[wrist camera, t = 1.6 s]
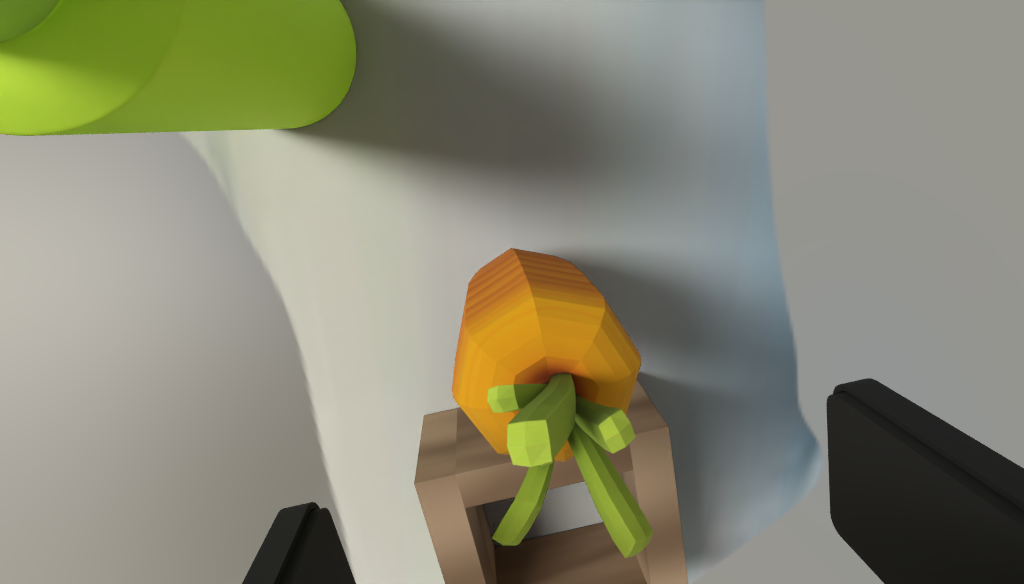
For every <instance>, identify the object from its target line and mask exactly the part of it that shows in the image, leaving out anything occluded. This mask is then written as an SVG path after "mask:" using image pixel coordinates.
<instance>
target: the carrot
mask: <svg viewBox="0 0 1024 584" xmlns="http://www.w3.org/2000/svg"><path fill="white" fill-rule="evenodd" d="M640 366H641V356H640V354H639V352H638V350H637V349H636V347H635V345H634V344H633V342H632V341H631V339H630V338H629V336H628V335H627V333H626V331H625V330H624V328H623V327H622V325H621V324H620V322H619V321H618V319H617V317H616V316H615V314H614V313H613V311H612V310H611V308H610V307H609V305H608V303H607V302H606V300H605V299H604V297H603V296H602V294H601V293H600V292H599V291H598V290H597V288H596V287H595V286H594V285H593V284H592V283H591V282H590V281H589V280H588V279H587V278H586V276H585V275H584V274H582V273H581V272H580V271H579V270H578V269H577V268H576V267H575V266H574V265H573V264H572V263H570V262H569V261H566V260H564V259H561V258H559V257H555V256H551V255H547V254H541V253H536V252H530V251H525V250H519V249H513V248H510V249H509V250H507V251H506V252H504V253H503V254H501V255H500V256H498V257H497V258H496V259H494V260H493V261H491V262H490V263H488V264H487V265H485V266H484V267H482V268H481V269H480V270H479V271H478V272H477V273H476V274H475V275H474V276H473V278H472V279H471V281H470V282H469V286H468V291H467V296H466V302H465V307H464V313H463V318H462V323H461V329H460V334H459V340H458V346H457V352H456V358H455V366H454V376H453V386H452V392H453V397H454V399H455V401H456V402H457V404H458V405H459V406H460V407H461V409H462V410H463V411H464V412H465V414H466V415H467V416H468V417H469V419H470V420H471V421H472V422H473V423H474V425H475V426H476V427H477V428H478V430H479V431H480V432H481V433H482V435H483V436H484V437H485V438H486V440H487V441H488V442H489V443H490V444H491V446H492V447H493V448H494V449H495V451H496V452H497V453H498V454H505V455H510V457H511V460H512V463H513V465H519V466H527V467H529V469H528V471H527V474H526V476H525V479H524V481H523V483H522V485H521V487H520V489H519V491H518V494H517V496H516V498H515V500H514V501H513V503H512V505H511V506H510V508H509V509H508V511H507V513H506V514H505V516H504V518H503V519H502V521H501V523H500V524H499V526H498V528H497V530H496V531H495V533H494V535H493V537H492V538H493V539H494V540H495V541H497V542H498V543H500V544H501V545H518V544H520V542H521V541H522V539H523V538H524V537H525V535H526V534H527V533H528V531H529V530H530V528H531V526H532V524H533V523H534V521H535V519H536V517H537V515H538V514H539V512H540V510H541V507H542V504H543V501H544V498H545V495H546V492H547V489H548V486H549V482H550V479H551V475H552V471H553V467H554V461H561V462H565V461H567V460H569V459H570V458H572V457H574V456H575V459H576V461H577V464H578V466H579V468H580V471H581V473H582V475H583V478H584V480H585V482H586V485H587V487H588V489H589V492H590V494H591V496H592V499H593V501H594V503H595V506H596V508H597V510H598V513H599V515H600V517H601V518H602V520H603V522H604V524H605V526H606V528H607V530H608V532H609V534H610V536H611V538H612V540H613V541H614V543H615V544H616V546H617V547H618V549H619V550H620V552H621V553H622V554H623V556H624V557H625V558H628V557H632V556H635V555H636V554H638V553H639V552H641V551H642V550H643V549H644V548H645V547H646V546H647V544H648V543H649V542H650V540H651V538H652V535H653V533H654V532H653V530H652V528H651V527H650V525H649V523H648V521H647V519H646V517H645V515H644V513H643V512H642V510H641V509H640V507H639V505H638V504H637V502H636V501H635V499H634V498H633V496H632V494H631V493H630V491H629V490H628V488H627V486H626V485H625V483H624V482H623V480H622V478H621V477H620V475H619V473H618V472H617V470H616V469H615V467H614V465H613V464H612V462H611V460H610V459H609V457H608V456H607V454H606V452H605V451H604V449H605V450H607V451H609V452H611V453H615V452H617V451H619V450H621V449H623V448H625V447H626V446H627V445H628V444H629V443H630V442H631V441H632V440H633V439H634V438H635V437H636V436H635V433H634V431H633V428H632V425H631V422H630V421H629V419H628V418H627V417H626V413H627V410H628V407H629V403H630V400H631V396H632V393H633V390H634V386H635V383H636V379H637V376H638V373H639V369H640ZM602 447H603V448H604V449H603V448H602Z"/></svg>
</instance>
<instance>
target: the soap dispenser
mask: <svg viewBox="0 0 1024 584" xmlns="http://www.w3.org/2000/svg"><path fill="white" fill-rule="evenodd" d="M356 56H357V53H356V41H355V35H354V31H353V28H352V24H351V22H350V19H349V17H348V14H347V12H346V10H345V8H344V7H343V5H342V3H341V2H340V0H0V134H6V135H20V136H35V135H72V134H108V133H142V132H143V133H145V132H181V131H217V130H253V129H289V128H298V127H303V126H307V125H310V124H313V123H315V122H317V121H319V120H321V119H323V118H324V117H326V116H327V115H329V114H330V113H331V112H332V111H333V110H334V109H335V108H336V107H337V106H338V105H339V104H340V103H341V101H342V100H343V99H344V97H345V96H346V94H347V92H348V90H349V88H350V86H351V83H352V80H353V77H354V73H355V68H356Z"/></svg>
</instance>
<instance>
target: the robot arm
mask: <svg viewBox="0 0 1024 584" xmlns="http://www.w3.org/2000/svg"><path fill="white" fill-rule="evenodd" d="M827 428H828V458H829V487H830V513H831V519H832V522H833V524H834V527H835V529H836V530H837V532H838V534H839V535H840V536H841V537H842V538H843V539H844V541H845V542H846V543H847V544H848V545H849V546H850V547H851V548H852V549H853V550H854V551H855V552H856V553H857V555H858V556H860V558H861V559H862V560H863V561H864V562H865V563H866V564H867V565H868V566H869V567H870V568H871V570H872V571H873V572H874V573H875V574H876V575H877V576H878V577H879V578H880V579H881V580H882V581H883V582H884V584H1024V468H1022V467H1020V466H1018V465H1017V464H1015V463H1013V462H1012V461H1010V460H1008V459H1007V458H1005V457H1003V456H1002V455H1000V454H998V453H997V452H995V451H993V450H992V449H990V448H988V447H987V446H985V445H983V444H982V443H980V442H978V441H977V440H975V439H973V438H972V437H970V436H968V435H966V434H965V433H963V432H962V431H960V430H958V429H956V428H955V427H953V426H951V425H950V424H948V423H946V422H945V421H943V420H941V419H940V418H938V417H936V416H935V415H933V414H931V413H930V412H928V411H926V410H925V409H923V408H921V407H920V406H918V405H916V404H915V403H913V402H911V401H910V400H908V399H906V398H904V397H903V396H901V395H899V394H898V393H896V392H894V391H893V390H891V389H890V388H888V387H886V386H884V385H883V384H881V383H879V382H878V381H876V380H873V379H863V380H858V381H854V382H849V383H845V384H840V385H838V386H836V387H835V389H834V392H833V395H830V396H829V397H828V399H827ZM242 584H356V583H355V580H354V577H353V575H352V572H351V569H350V566H349V563H348V561H347V558H346V555H345V552H344V550H343V547H342V544H341V542H340V539H339V536H338V533H337V530H336V528H335V525H334V522H333V519H332V517H331V514H330V512H329V510H328V509H327V508H322V509H320V508H319V506H318V505H317V504H316V503H314V502H311V503H307V504H302V505H298V506H293V507H288V508H284V509H282V510H280V511H279V513H278V515H277V517H276V518H275V520H274V522H273V524H272V526H271V528H270V530H269V532H268V534H267V536H266V538H265V540H264V542H263V544H262V546H261V548H260V550H259V551H258V553H257V555H256V557H255V559H254V561H253V563H252V566H251V567H250V569H249V571H248V573H247V575H246V577H245V579H244V581H243V583H242Z"/></svg>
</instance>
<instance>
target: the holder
mask: <svg viewBox="0 0 1024 584" xmlns="http://www.w3.org/2000/svg"><path fill="white" fill-rule="evenodd" d="M626 417H627V418H628V419H629V421H630V422H631V425H632V428H633V431H634V433H635V436H636V437H635V438H634V439H633V440H632V441H631V442H630V443H629V444H628V445H627V446H626V447H625V448H623V449H621V450H619V451H617V452H615V453H611V452H609V451H607V450H605V449H604V448H603V447H602V448H603V449H604V451H605V452H606V454H607V456H608V457H609V459H610V460H611V462H612V464H613V465H614V467H615V469H616V470H617V472H618V473H619V475H620V477H621V478H622V480H623V482H624V483H625V485H626V486H627V488H628V490H629V491H630V493H631V494H632V496H633V498H634V499H635V501H636V502H637V504H638V505H639V507H640V509H641V510H642V512H643V513H644V515H645V517H646V519H647V521H648V523H649V525H650V527H651V528H652V530H653V532H654V533H653V535H652V538H651V540H650V542H649V543H648V544H647V546H646V547H645V548H644V549H643V550H642V551H641V552H639V553H638V554H636V555H635V556H632V557H628V558H625V557H624V556H623V554H622V553H621V552H620V550H619V549H618V547H617V546H616V544H615V543H614V541H613V540H612V538H611V536H610V534H609V532H608V530H607V528H606V526H605V524H604V523H599V524H595V525H590V526H586V527H582V528H577V529H573V530H568V531H564V532H560V533H555V534H551V535H546V536H542V537H538V538H533V539H529V540H524V541H521V542H520V544H518V545H502V546H498V547H494V545H493V541H492V537H491V533H490V530H489V526H488V522H487V518H486V515H485V511H484V507H483V504H485V503H490V502H494V501H499V500H503V499H508V498H512V497H516V496H517V494H518V491H519V489H520V487H521V485H522V483H523V481H524V479H525V476H526V474H527V471H528V469H529V467H527V466H519V465H513V463H512V460H511V457H510V455H505V454H498V453H497V452H496V451H495V449H494V448H493V447H492V446H491V444H490V443H489V442H488V441H487V440H486V438H485V437H484V436H483V435H482V433H481V432H480V431H479V430H478V428H477V427H476V426H475V425H474V423H473V422H472V421H471V420H470V419H469V417H468V416H467V415H466V414H465V412H464V411H463V410H462V409H461V408H456V409H452V410H447V411H443V412H438V413H434V414H429V415H425V416H424V419H423V426H422V433H421V440H420V447H419V454H418V461H417V468H416V475H415V482H414V484H415V488H416V491H417V494H418V497H419V500H420V504H421V507H422V510H423V513H424V517H425V520H426V523H427V526H428V529H429V533H430V536H431V539H432V542H433V546H434V549H435V552H436V555H437V558H438V562H439V565H440V568H441V571H442V574H443V578H444V581H445V584H688V578H687V570H686V562H685V554H684V546H683V538H682V530H681V522H680V514H679V506H678V498H677V490H676V482H675V474H674V466H673V458H672V450H671V442H670V434H669V426H668V425H667V423H666V422H665V421H664V419H663V418H662V416H661V415H660V413H659V412H658V410H657V409H656V407H655V406H654V404H653V403H652V401H651V400H650V398H649V397H648V395H647V394H646V392H645V391H644V389H643V388H642V386H641V385H640V383H639V382H638V380H637V379H636V383H635V386H634V390H633V393H632V396H631V400H630V403H629V407H628V410H627V413H626ZM583 481H585V480H584V478H583V475H582V473H581V471H580V468H579V466H578V464H577V461H576V459H575V456H574V457H572V458H570V459H569V460H567V461H565V462H561V461H554V467H553V471H552V475H551V479H550V482H549V486H548V489H552V488H556V487H561V486H565V485H570V484H574V483H578V482H583Z"/></svg>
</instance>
